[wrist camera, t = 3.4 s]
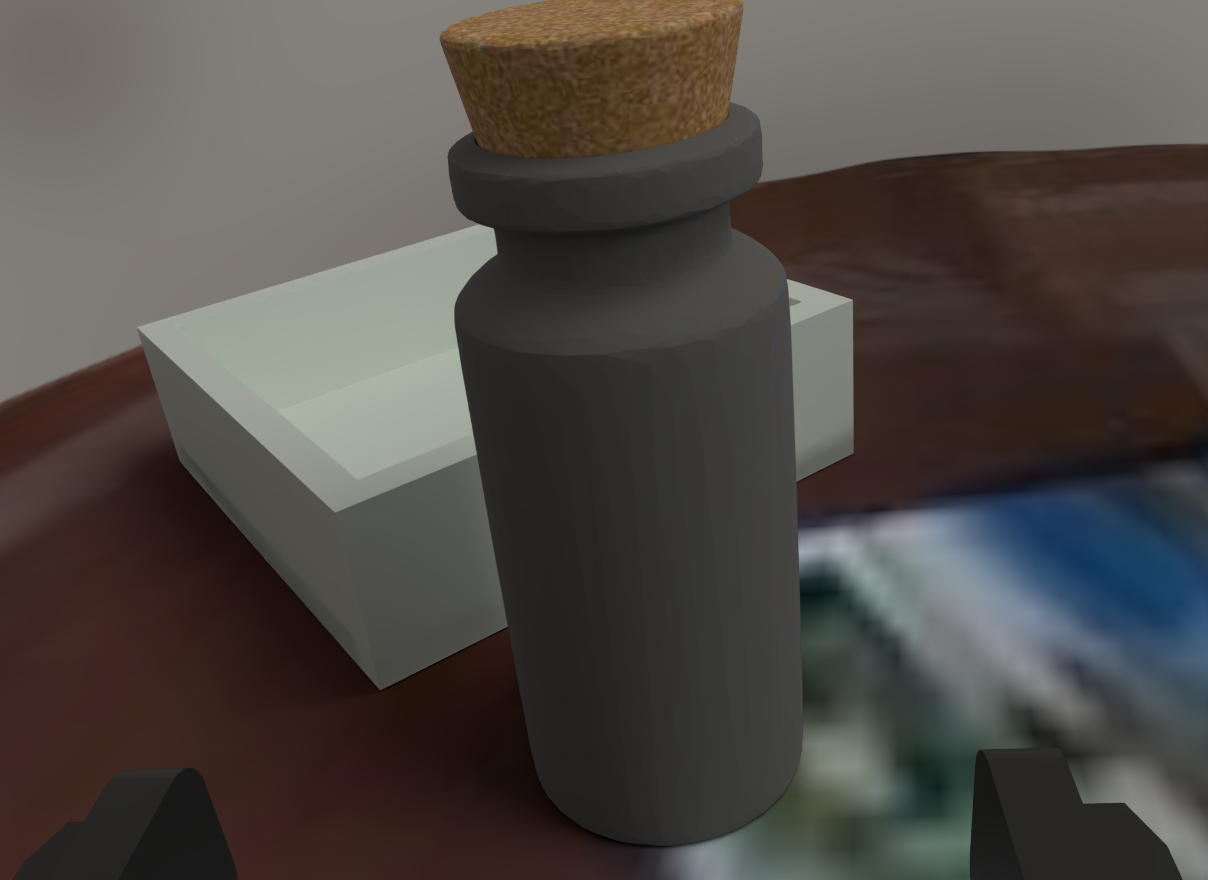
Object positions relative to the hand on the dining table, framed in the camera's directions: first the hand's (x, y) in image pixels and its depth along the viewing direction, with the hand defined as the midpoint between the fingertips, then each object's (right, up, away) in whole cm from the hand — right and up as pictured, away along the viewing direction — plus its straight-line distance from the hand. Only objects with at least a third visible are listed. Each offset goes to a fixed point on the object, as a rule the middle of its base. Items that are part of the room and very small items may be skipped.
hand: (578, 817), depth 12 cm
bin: (-3, +3, +25) cm, 26 cm away
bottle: (+2, -3, +13) cm, 13 cm away
